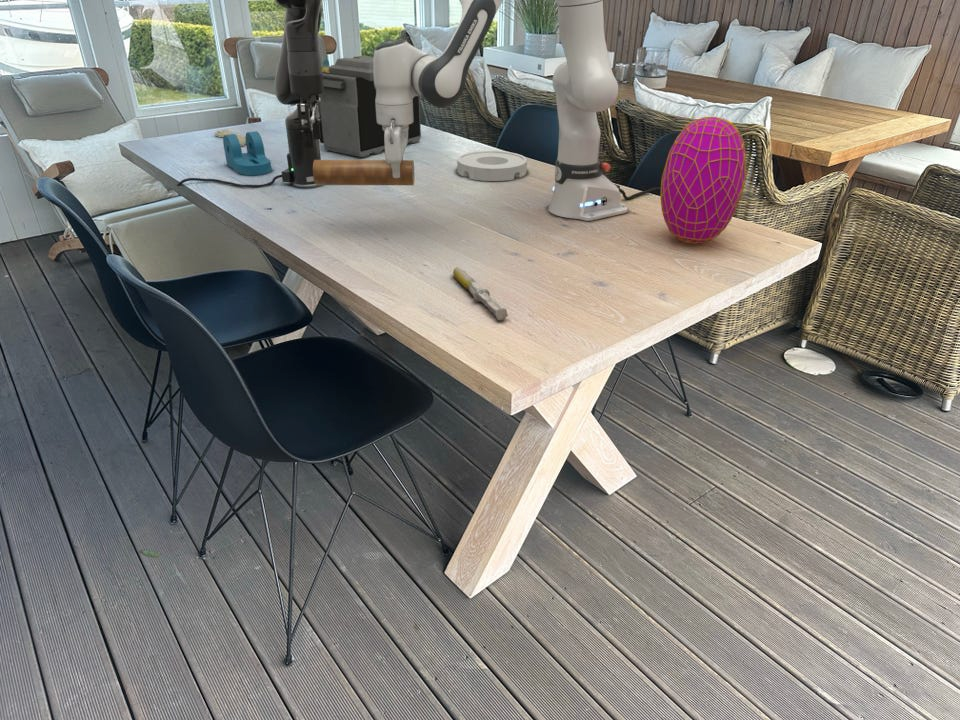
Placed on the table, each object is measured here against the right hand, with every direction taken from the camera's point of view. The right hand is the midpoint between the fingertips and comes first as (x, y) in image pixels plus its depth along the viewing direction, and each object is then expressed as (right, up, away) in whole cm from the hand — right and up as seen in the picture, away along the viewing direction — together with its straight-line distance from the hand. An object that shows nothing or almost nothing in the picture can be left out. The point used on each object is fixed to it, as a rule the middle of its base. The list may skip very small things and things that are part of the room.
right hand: (398, 172), depth 170 cm
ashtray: (+24, +16, +59) cm, 66 cm away
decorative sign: (-74, +39, +96) cm, 127 cm away
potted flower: (-44, +57, +126) cm, 145 cm away
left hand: (-20, +6, -4) cm, 22 cm away
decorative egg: (+74, -16, +5) cm, 76 cm away
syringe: (+20, -33, -25) cm, 46 cm away
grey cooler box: (-20, +34, +88) cm, 96 cm away
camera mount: (-56, +17, +59) cm, 83 cm away
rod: (-8, -3, +1) cm, 9 cm away
